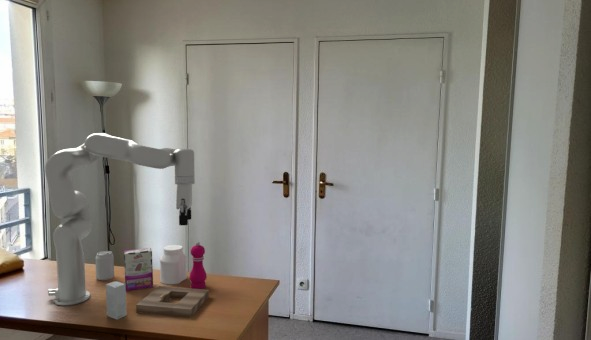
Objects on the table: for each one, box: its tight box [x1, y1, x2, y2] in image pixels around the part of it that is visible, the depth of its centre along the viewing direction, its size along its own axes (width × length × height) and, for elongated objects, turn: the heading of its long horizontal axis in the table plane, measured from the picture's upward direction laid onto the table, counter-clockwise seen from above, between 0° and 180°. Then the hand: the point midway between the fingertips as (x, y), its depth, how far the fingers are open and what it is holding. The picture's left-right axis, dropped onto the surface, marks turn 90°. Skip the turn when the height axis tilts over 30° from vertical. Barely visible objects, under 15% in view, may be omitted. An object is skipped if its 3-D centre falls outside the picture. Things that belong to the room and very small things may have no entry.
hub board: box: [135, 285, 210, 318], centre depth 157 cm, size 18×22×3 cm
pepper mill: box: [189, 241, 208, 289], centre depth 174 cm, size 7×7×20 cm
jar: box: [159, 244, 188, 286], centre depth 181 cm, size 12×10×15 cm
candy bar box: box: [123, 247, 154, 292], centre depth 172 cm, size 11×5×16 cm, turn 114°
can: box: [94, 250, 115, 282], centre depth 182 cm, size 8×8×12 cm
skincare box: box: [105, 280, 127, 321], centre depth 146 cm, size 6×4×12 cm
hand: (185, 222), depth 162 cm, fingers open, 9 cm apart
